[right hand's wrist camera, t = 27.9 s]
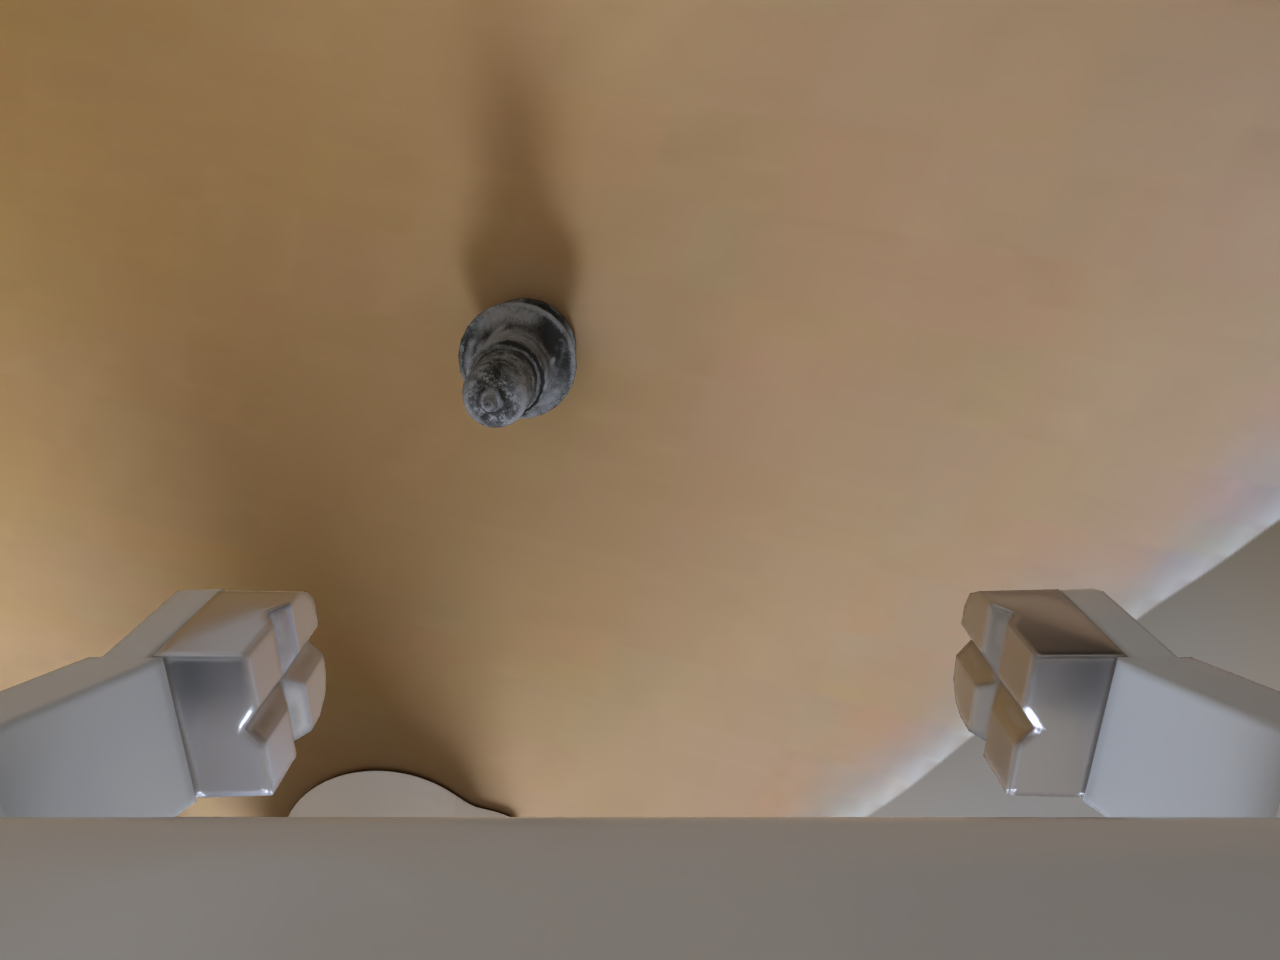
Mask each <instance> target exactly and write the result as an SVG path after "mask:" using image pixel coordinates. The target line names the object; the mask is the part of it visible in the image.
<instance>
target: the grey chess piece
mask: <svg viewBox="0 0 1280 960" xmlns="http://www.w3.org/2000/svg"><path fill="white" fill-rule="evenodd" d="M458 356H459V366H460V372H461V375H462V377H463V380H464V385H463V391H462V394H463V402H464V405H465V408H466V410H467V412H468V413H469V415H470V416H471V417H472V418H473V419H474V420H475V421H477V422H478V423H480V424H482V425H484V426H488V427H492V428H496V427H504V426H507V425H510V424H512V423H513V422H515V421H517V420H518V419H519V418H531V417H535V416H538V415H542V414H544V413H546V412H548V411H549V410H551V409H553V408H554V407H556V406H557V405H558V404H559V403H560V402H561V401H562V400H563V399H564V398H565V397H566V395H567V394H568V392H569V390H570V388H571V386H572V384H573V382H574V377H575V373H576V368H577V366H576V348H575V339H574V335H573V332H572V329H571V327H570V326H569V324H568V322H567V321H566V319H565V318H564V317H563V316H562V315H561V314H560V313H559V312H558V311H557V310H556V309H555V308H553V307H552V306H550V305H548V304H546V303H544V302H542V301H538V300H534V299H515V300H511V301H508V302H505V303H502V304H499V305H496V306H492V307H490V308H488V309H487V310H485V311H484V312H482V313H480V314H479V315H477V317H476V318H475V319H474V320H473V321H472V322H471V323H470V325H469V326H468V327H467V329H466V331H465V333H464V335H463V337H462V339H461V344H460V349H459V355H458Z"/></svg>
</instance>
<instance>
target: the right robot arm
mask: <svg viewBox="0 0 1280 960" xmlns="http://www.w3.org/2000/svg"><path fill="white" fill-rule="evenodd" d="M318 624H319V623H318V618H317V613H316V608H315V603H314V600H313V598H312V597H311V596H310V595H309V594H308V592H307V591H266V590H224V589H200V590H180V591H177V592H176V593H175V594H174V595H172V596H171V597H170V598H169V599H168V600H167V601H166V602H164V603H163V604H162V605H161V606H160V607H159V608H158V609H156V610H155V611H154V612H153V613H152V614H151V615H150V616H149V617H147V618H146V619H145V620H144V621H143V622H142V623H141V624H139V625H138V626H137V627H136V628H135V629H134V630H133V631H131V632H130V633H129V634H128V635H127V636H126V637H125V638H123V639H122V640H121V641H120V642H119V643H118V644H117V645H115V646H114V647H113V648H112V649H111V650H110V651H109V652H107V653H106V654H105V655H104V656H103V657H88V658H85V659H83V660H80V661H78V662H75V663H73V664H70V665H67V666H65V667H62V668H60V669H57V670H55V671H52V672H49V673H47V674H44V675H42V676H39V677H36V678H34V679H31V680H29V681H26V682H24V683H21V684H18V685H16V686H13V687H11V688H8V689H6V690H3V691H0V960H1280V692H1279V691H1277V690H1274V689H1272V688H1269V687H1266V686H1264V685H1261V684H1259V683H1256V682H1254V681H1251V680H1249V679H1246V678H1243V677H1241V676H1238V675H1236V674H1233V673H1231V672H1228V671H1225V670H1223V669H1220V668H1218V667H1215V666H1212V665H1210V664H1207V663H1205V662H1202V661H1200V660H1197V659H1195V658H1192V657H1177V656H1176V655H1175V654H1174V653H1173V652H1171V651H1170V650H1169V649H1168V648H1167V647H1166V646H1165V645H1163V644H1162V643H1161V642H1160V641H1159V640H1158V639H1157V638H1156V637H1154V636H1153V635H1152V634H1151V633H1150V632H1149V631H1148V630H1146V629H1145V628H1144V627H1143V626H1142V625H1141V624H1140V623H1138V622H1137V621H1136V620H1135V619H1134V618H1133V617H1132V616H1131V615H1129V614H1128V613H1127V612H1126V611H1125V610H1124V609H1123V608H1121V607H1120V606H1119V605H1118V604H1117V603H1116V602H1115V601H1114V600H1112V599H1111V598H1110V597H1109V596H1108V595H1107V594H1106V593H1104V592H1103V591H1099V590H1095V589H1074V590H1059V589H1054V590H1012V591H979V592H974V593H970V594H969V597H968V599H967V601H966V603H965V606H964V611H963V617H962V623H961V624H962V626H963V627H964V629H965V630H966V632H967V633H968V635H969V637H970V638H971V640H970V641H969V643H968V644H967V645H966V646H965V647H964V648H963V649H962V650H961V651H960V652H959V653H958V654H957V655H956V662H955V671H954V689H955V700H956V704H957V707H958V710H959V713H960V716H961V718H962V720H963V722H964V723H965V725H966V727H967V729H968V730H969V731H970V732H972V733H973V734H975V735H977V736H978V737H980V738H981V739H983V740H985V741H986V744H985V750H984V757H985V759H986V761H987V762H988V764H989V766H990V767H991V769H992V770H993V772H994V774H995V775H996V777H997V779H998V780H999V782H1000V784H1001V785H1002V787H1003V788H1004V790H1005V792H1006V794H1007V795H1012V796H1049V797H1084V799H1083V801H1084V802H1086V803H1087V804H1089V805H1090V806H1091V807H1093V808H1094V809H1095V810H1097V811H1098V812H1099V813H1101V814H1102V815H1104V816H1105V817H509V816H507V815H504V814H501V813H498V812H494V811H491V810H487V809H482V808H478V807H475V806H473V805H471V804H469V803H467V802H465V801H463V800H462V799H460V798H459V797H457V796H456V795H454V794H453V793H451V792H450V791H448V790H446V789H445V788H443V787H441V786H439V785H437V784H435V783H433V782H430V781H428V780H425V779H422V778H419V777H416V776H412V775H408V774H404V773H398V772H390V771H362V772H355V773H350V774H345V775H341V776H338V777H335V778H332V779H330V780H328V781H325V782H323V783H321V784H320V785H318V786H316V787H315V788H313V789H312V790H310V791H309V792H308V793H306V794H305V795H304V796H303V797H302V798H301V799H300V800H299V801H298V802H297V804H296V805H295V806H294V808H293V809H292V811H291V812H290V814H289V816H288V817H175V816H177V815H178V814H179V813H181V812H182V811H184V810H185V809H186V808H188V807H189V806H190V805H192V804H193V803H194V802H196V797H229V796H265V795H273V794H274V792H275V790H276V789H277V787H278V785H279V784H280V782H281V781H282V779H283V777H284V776H285V774H286V772H287V771H288V769H289V767H290V766H291V764H292V762H293V761H294V759H295V757H296V750H295V744H294V741H295V740H297V739H299V738H300V737H302V736H303V735H305V734H307V733H308V732H310V731H311V730H312V729H313V727H314V725H315V723H316V721H317V720H318V718H319V716H320V714H321V710H322V706H323V702H324V698H325V693H326V668H325V661H324V655H323V654H322V653H321V652H320V651H319V650H318V649H317V648H316V647H315V646H314V645H313V644H312V643H311V641H310V640H309V638H310V637H311V635H312V633H313V632H314V630H315V629H316V627H317V626H318Z"/></svg>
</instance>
